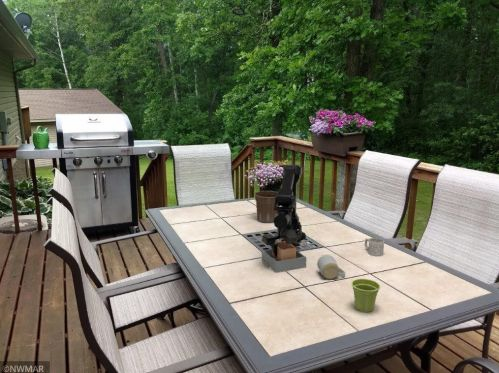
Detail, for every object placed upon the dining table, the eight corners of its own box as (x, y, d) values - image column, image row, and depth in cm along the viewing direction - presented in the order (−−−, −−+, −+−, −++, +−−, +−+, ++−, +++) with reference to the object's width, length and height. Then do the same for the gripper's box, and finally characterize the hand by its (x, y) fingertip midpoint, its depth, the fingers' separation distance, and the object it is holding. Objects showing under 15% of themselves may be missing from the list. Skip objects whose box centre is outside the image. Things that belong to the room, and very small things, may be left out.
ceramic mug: (321, 280, 156) (322, 262, 154) (316, 271, 164) (317, 254, 162) (348, 280, 157) (349, 261, 155) (341, 271, 165) (342, 254, 163)
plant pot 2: (346, 301, 140) (347, 278, 138) (372, 300, 140) (373, 277, 139) (355, 315, 130) (356, 291, 129) (383, 314, 131) (385, 290, 129)
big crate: (290, 256, 181) (290, 246, 180) (306, 268, 168) (306, 257, 167) (262, 260, 176) (262, 250, 175) (276, 273, 163) (276, 262, 162)
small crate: (286, 253, 177) (286, 240, 176) (295, 261, 169) (296, 247, 168) (271, 255, 174) (272, 243, 173) (281, 263, 166) (281, 250, 165)
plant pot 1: (286, 219, 237) (286, 192, 234) (273, 226, 224) (273, 198, 221) (262, 215, 246) (263, 189, 242) (249, 221, 233) (248, 194, 229)
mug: (386, 254, 182) (387, 241, 181) (376, 257, 179) (377, 243, 178) (369, 247, 191) (370, 234, 189) (359, 250, 187) (360, 237, 186)
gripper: (272, 229, 157) (272, 266, 161) (313, 224, 164) (312, 259, 168) (261, 222, 168) (261, 256, 171) (300, 217, 174) (299, 250, 178)
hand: (283, 256), depth 171 cm, fingers closed on small crate, 7 cm apart
